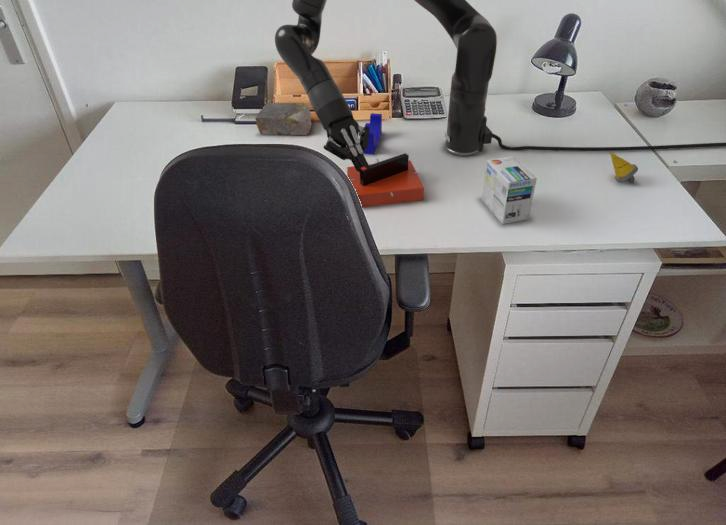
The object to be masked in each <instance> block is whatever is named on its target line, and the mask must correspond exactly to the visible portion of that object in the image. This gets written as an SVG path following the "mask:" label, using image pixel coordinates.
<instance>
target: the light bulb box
mask: <svg viewBox="0 0 726 525" xmlns="http://www.w3.org/2000/svg"><path fill="white" fill-rule="evenodd" d="M485 167H486V168H485V175H484V181H483V188H482V194H481V195H482V196H481V201H482V202H483V203H484V204H485V205H486V207H487V208H488V209H489V211H490V212H491V213H492V214H493V215H494V216H495V217H496V218H497V220H498V221H499V222H500V224H502V225H505V224H511V223H516V222H521V221H527V220H529V219H530V218H529V217H530V213H531V207H532V204H533V198H534V193H535V188H536V184H537V180H538V178H537V177H536V176H535V175H534V174H533V173H532V172H530V171H529V169H527V168H526V167H525V166H524V165H523V164H522V163H520V161H519V160H517V159H516V157H515V156H513V155H510V156H504V157H497V158H490V159H487V161H486V166H485Z"/></svg>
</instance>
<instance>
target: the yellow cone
mask: <svg viewBox="0 0 726 525" xmlns="http://www.w3.org/2000/svg"><path fill="white" fill-rule="evenodd" d="M609 152H610V153H609V154H610V158H611V162H612V165H613V170H614V174H615V176H614V179H615V181H616V182H617V183H622V182H625V181H628V182H630V183H632V184H635V180H636V178H635V176H634V175H636V173H638V171H639V168H638V166H637V165H636V164H635V163H630V162H628V161H627V160H625V159H624V158H622V157H620V156H619V155H617V154H615V153H614V152H612V151H609Z"/></svg>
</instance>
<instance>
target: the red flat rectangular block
mask: <svg viewBox="0 0 726 525" xmlns="http://www.w3.org/2000/svg"><path fill="white" fill-rule="evenodd" d="M376 161H377V163H378V162H380V160H379V158H376ZM369 165H372V164H368V166H369ZM346 172H347V178H348V177H349V179H350V181H351V182H352V184H353V186H354V188H355V189H356V192H357V194H358V197H359V199H360V201H361V204H362V207H361V208H368V207H377V206H385V205H393V204H401V203H411V202H418V201H419V202H420V201H424V196H425V186H424V184H423V182H422V180H421V178H420V176H419V174H420V172H419V171H417V170H416V168H415V166H414V163H412V161H411V159H410V160H408V170H407V171H404V172H401V173H398V174H395V175H393V176H390V177H387V178H384V179H382V180H379V181H376V182H373V183H370V184H368V185H365V186H363V185H361V184H360V173H359V172H358V171H357V170H356V169H355V167H354V165H353V166H347V167H346Z"/></svg>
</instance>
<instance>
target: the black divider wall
mask: <svg viewBox="0 0 726 525" xmlns="http://www.w3.org/2000/svg"><path fill="white" fill-rule="evenodd" d="M408 161H409V154H407V153H406V152H404V153H402V154H398V155H395V156H392V157H389V158H387V159H384V160H381V161H379V162H378V161H377V162H375V163H373V164H372V165H371V164H368V165H369V166H366V167H361V168H360V184H361V185H363V186H365V185H368V184H370V183H373V182H376V181H379V180H382V179H384V178H387V177H390V176H393V175H395V174H398V173H401V172H404V171H407V170H408Z"/></svg>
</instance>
